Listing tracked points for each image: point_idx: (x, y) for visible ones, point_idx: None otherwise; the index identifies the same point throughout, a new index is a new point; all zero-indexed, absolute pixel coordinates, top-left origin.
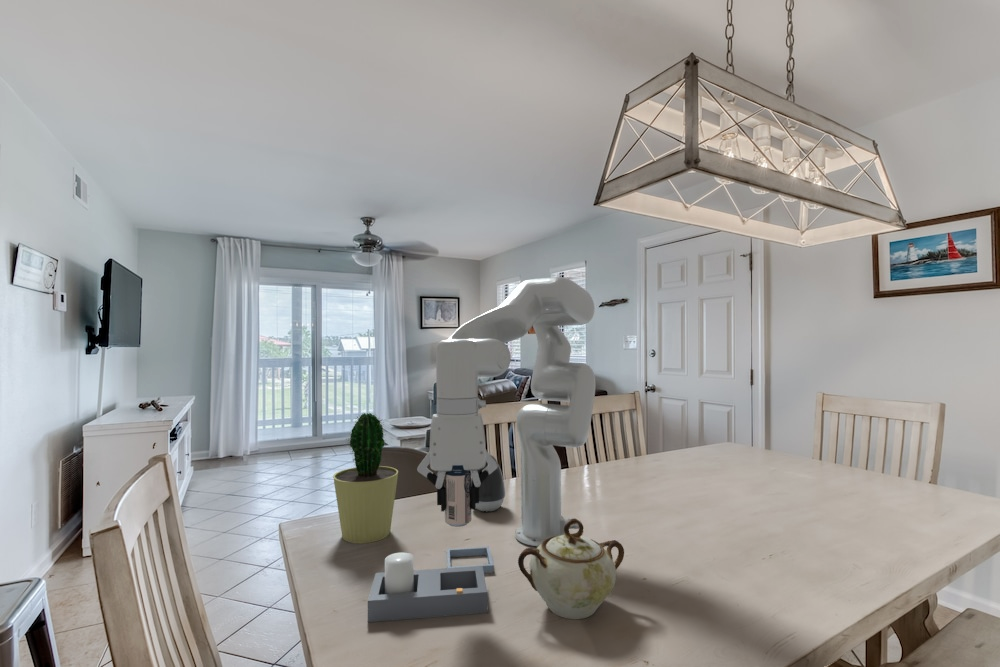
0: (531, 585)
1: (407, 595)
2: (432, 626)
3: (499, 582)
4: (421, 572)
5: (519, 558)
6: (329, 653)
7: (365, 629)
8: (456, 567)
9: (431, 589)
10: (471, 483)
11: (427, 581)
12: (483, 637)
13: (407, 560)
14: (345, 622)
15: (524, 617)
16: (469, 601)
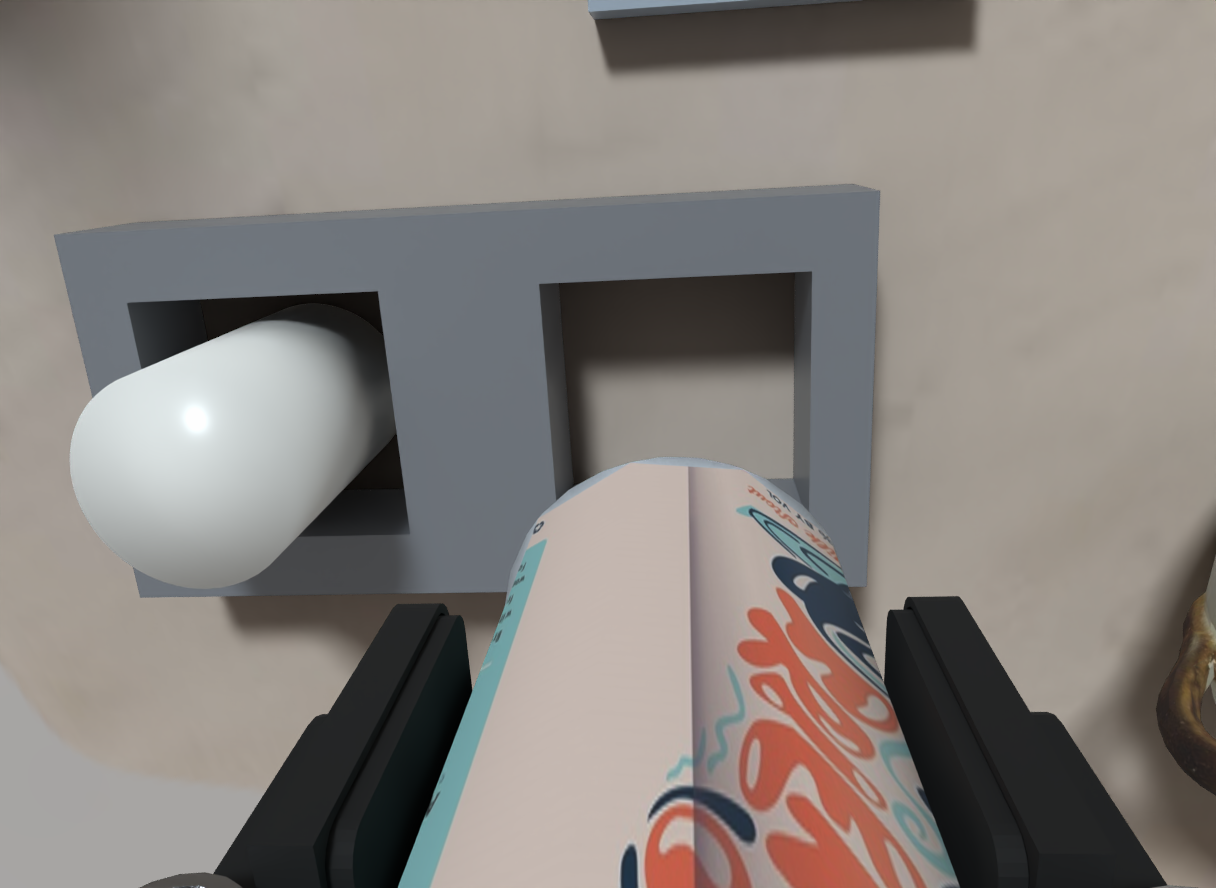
0: (1183, 630)
1: (359, 567)
2: None
3: (982, 162)
4: (393, 262)
5: (1196, 777)
6: (121, 746)
7: (212, 600)
8: (662, 2)
9: (499, 516)
10: (1033, 875)
11: (458, 406)
12: None
13: (260, 528)
14: (89, 531)
15: (1045, 595)
16: None
